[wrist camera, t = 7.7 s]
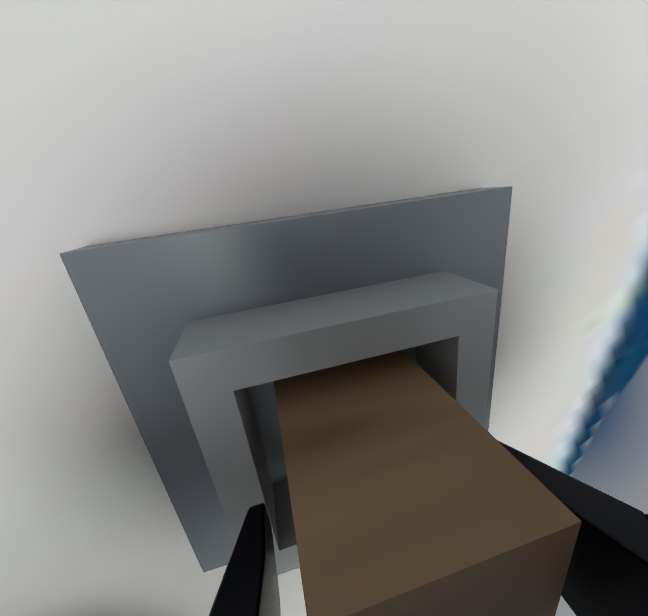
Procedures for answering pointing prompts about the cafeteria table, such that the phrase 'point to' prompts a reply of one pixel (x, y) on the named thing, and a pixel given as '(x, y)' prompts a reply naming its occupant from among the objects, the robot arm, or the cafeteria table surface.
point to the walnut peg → (413, 500)
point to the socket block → (286, 335)
